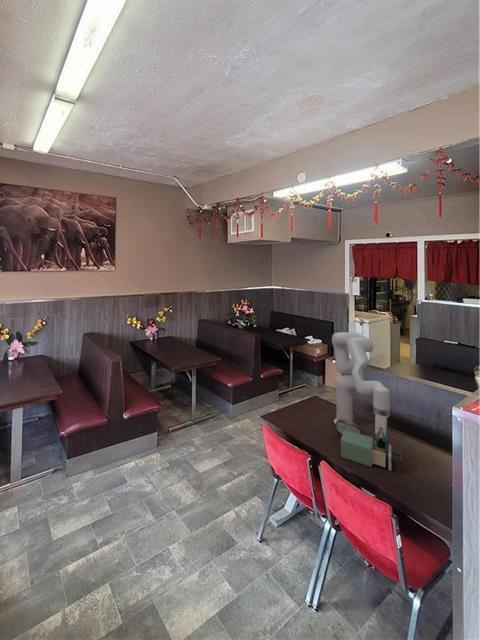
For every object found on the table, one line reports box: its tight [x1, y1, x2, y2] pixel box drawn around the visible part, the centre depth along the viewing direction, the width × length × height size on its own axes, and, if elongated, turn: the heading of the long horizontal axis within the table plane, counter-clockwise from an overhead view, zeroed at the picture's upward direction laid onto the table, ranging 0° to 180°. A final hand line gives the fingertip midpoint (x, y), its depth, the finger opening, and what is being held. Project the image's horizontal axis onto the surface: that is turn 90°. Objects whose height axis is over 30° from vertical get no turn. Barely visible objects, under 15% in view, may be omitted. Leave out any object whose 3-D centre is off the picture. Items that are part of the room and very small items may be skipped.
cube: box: [375, 433, 388, 451], centre depth 160 cm, size 5×5×5 cm
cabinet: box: [340, 430, 374, 468], centre depth 166 cm, size 15×13×9 cm
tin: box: [335, 419, 364, 435], centre depth 184 cm, size 15×3×8 cm, turn 47°
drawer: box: [372, 440, 404, 472], centre depth 159 cm, size 18×11×7 cm, turn 56°
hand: (381, 444), depth 160 cm, fingers closed on cube, 5 cm apart
